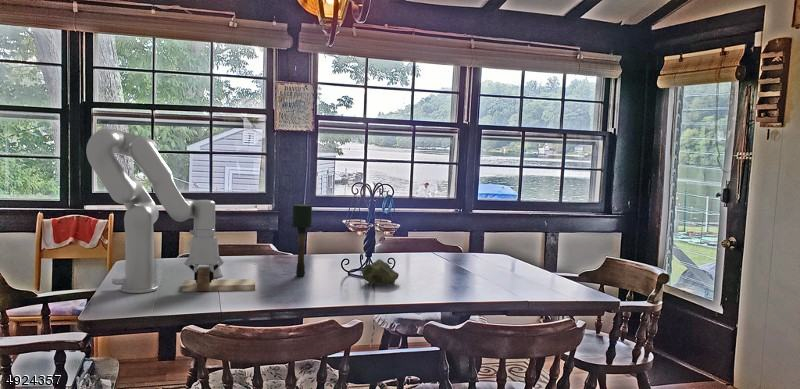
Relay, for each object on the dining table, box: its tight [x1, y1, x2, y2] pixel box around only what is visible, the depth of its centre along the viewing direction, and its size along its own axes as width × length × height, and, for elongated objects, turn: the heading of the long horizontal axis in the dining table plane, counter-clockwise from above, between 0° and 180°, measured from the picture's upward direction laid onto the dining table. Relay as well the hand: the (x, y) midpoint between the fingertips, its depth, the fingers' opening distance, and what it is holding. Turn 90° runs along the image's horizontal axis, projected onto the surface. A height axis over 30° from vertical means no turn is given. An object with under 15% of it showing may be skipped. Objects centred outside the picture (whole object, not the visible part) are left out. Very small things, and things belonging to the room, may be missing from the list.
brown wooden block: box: [196, 265, 210, 292], centre depth 227 cm, size 4×14×8 cm, turn 14°
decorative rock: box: [361, 258, 399, 286], centre depth 244 cm, size 15×16×10 cm
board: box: [181, 278, 256, 292], centre depth 228 cm, size 26×10×2 cm, turn 104°
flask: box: [208, 261, 223, 279], centre depth 246 cm, size 7×7×10 cm
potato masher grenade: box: [291, 203, 313, 277], centre depth 253 cm, size 8×9×30 cm
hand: (203, 281), depth 224 cm, fingers closed on brown wooden block, 4 cm apart
